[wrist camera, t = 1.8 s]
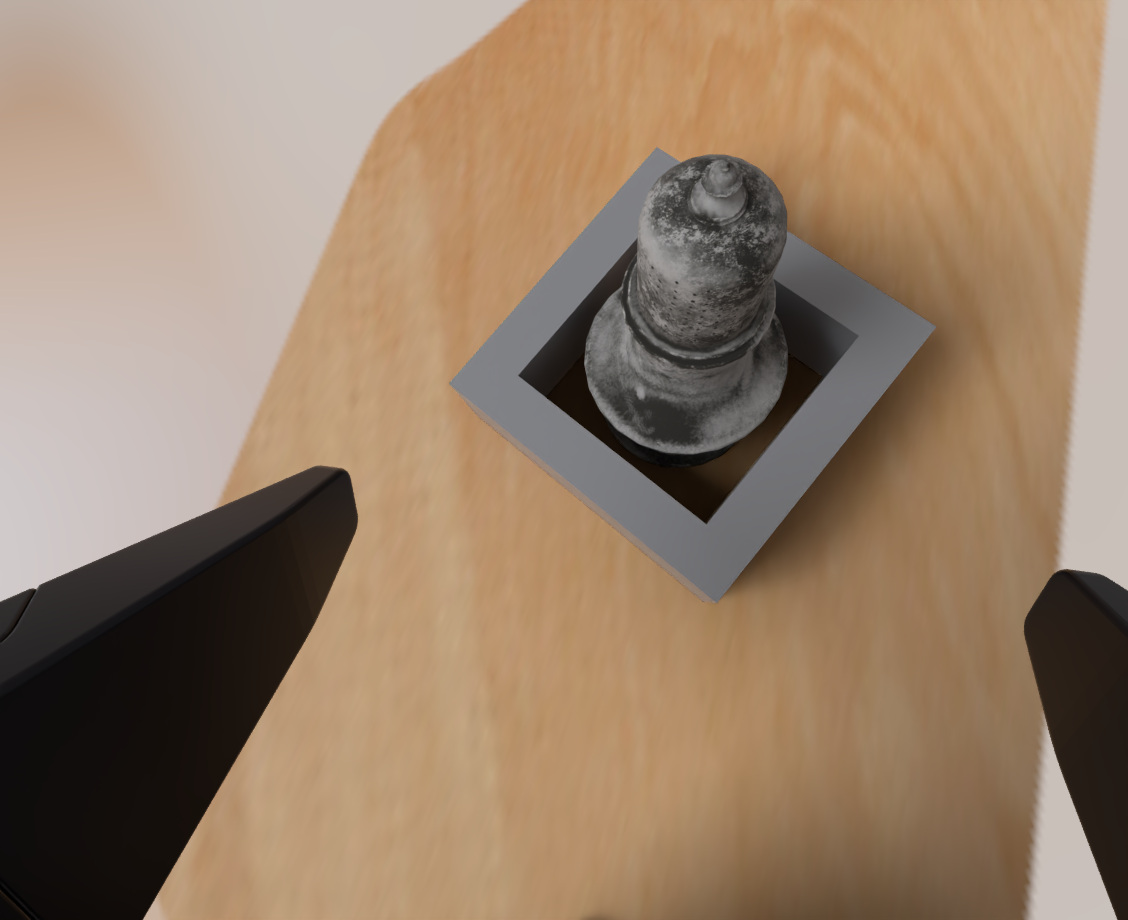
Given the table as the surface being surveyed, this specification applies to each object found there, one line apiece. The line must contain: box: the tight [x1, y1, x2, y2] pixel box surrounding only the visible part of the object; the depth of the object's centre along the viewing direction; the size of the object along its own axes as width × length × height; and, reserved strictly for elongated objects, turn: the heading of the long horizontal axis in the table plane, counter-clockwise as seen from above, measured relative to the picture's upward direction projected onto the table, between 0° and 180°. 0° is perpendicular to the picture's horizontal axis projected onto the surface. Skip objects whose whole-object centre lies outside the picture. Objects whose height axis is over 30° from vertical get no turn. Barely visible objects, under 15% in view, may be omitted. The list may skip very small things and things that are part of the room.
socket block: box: [449, 147, 936, 603], centre depth 20 cm, size 10×10×4 cm
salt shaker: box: [584, 155, 788, 468], centre depth 16 cm, size 6×6×12 cm
